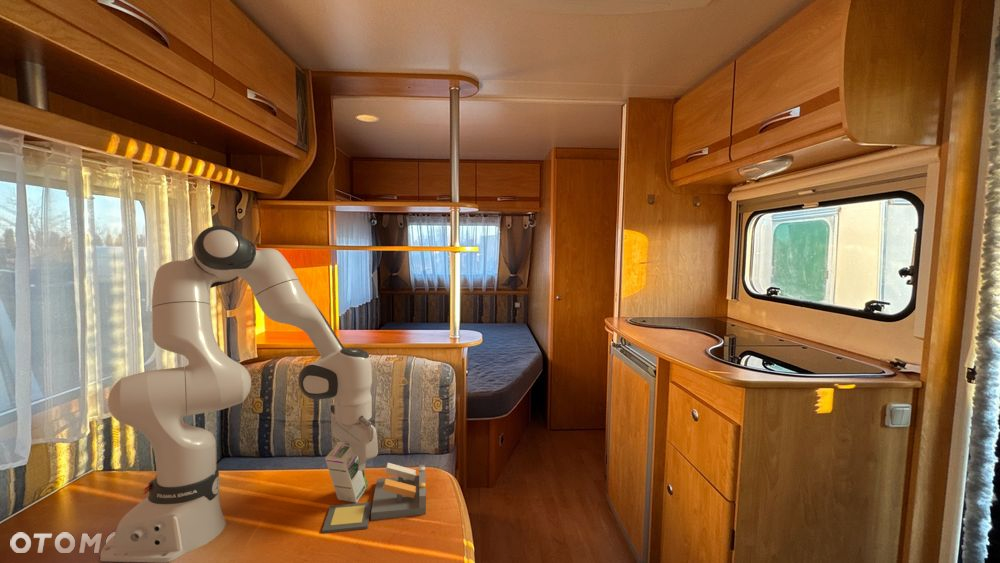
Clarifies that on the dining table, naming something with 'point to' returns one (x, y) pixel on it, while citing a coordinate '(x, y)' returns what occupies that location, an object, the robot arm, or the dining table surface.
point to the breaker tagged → (399, 488)
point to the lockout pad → (347, 517)
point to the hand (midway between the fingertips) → (353, 463)
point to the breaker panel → (399, 499)
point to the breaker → (400, 471)
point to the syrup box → (346, 473)
